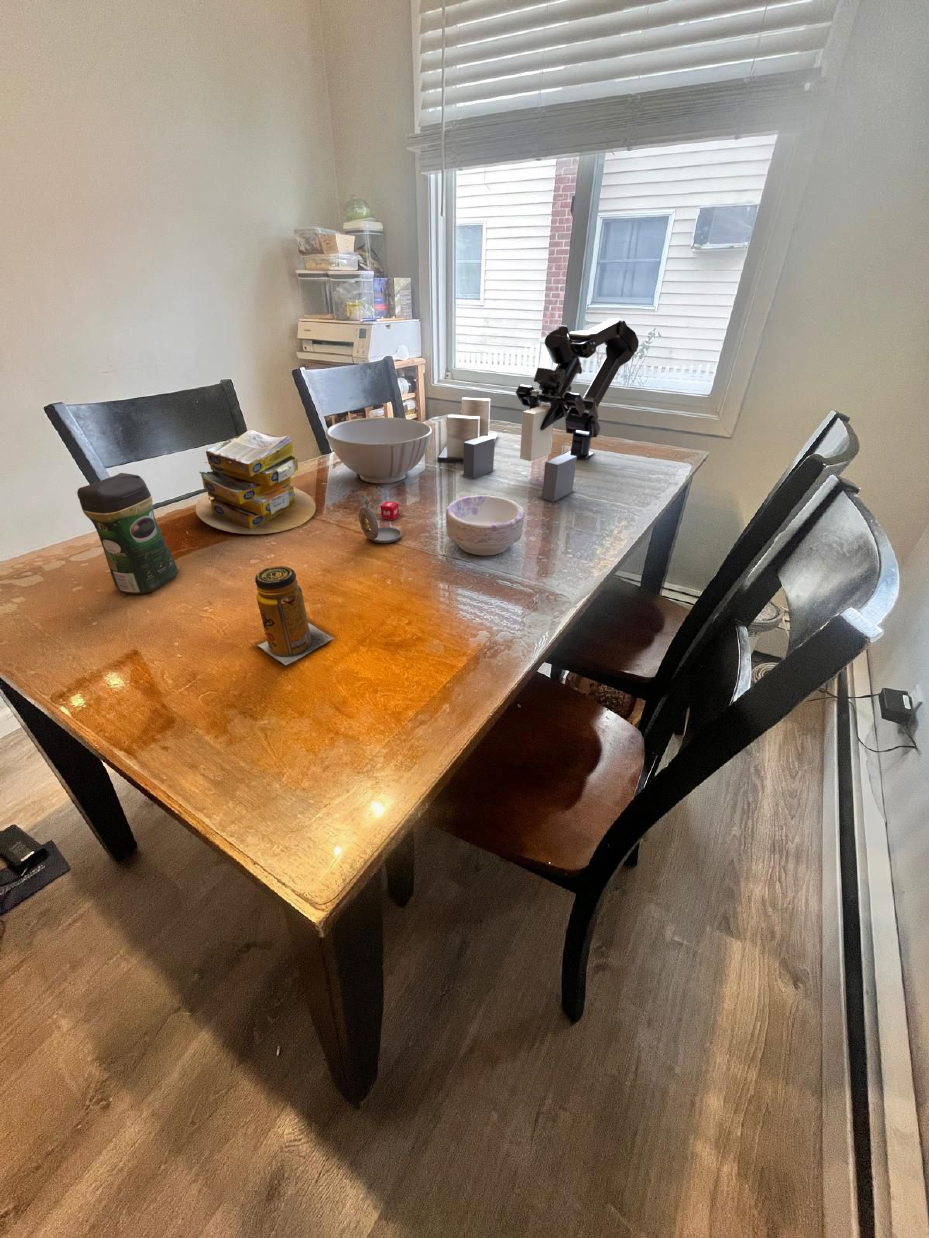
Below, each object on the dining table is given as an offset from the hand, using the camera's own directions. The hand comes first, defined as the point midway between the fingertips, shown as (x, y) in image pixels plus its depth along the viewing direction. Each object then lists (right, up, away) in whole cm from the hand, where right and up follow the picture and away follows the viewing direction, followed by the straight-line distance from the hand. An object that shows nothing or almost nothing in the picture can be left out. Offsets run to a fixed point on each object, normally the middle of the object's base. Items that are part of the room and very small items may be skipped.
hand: (534, 428), depth 134 cm
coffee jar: (-74, -43, -43) cm, 96 cm away
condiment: (-43, -53, -57) cm, 90 cm away
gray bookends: (-5, -14, +1) cm, 15 cm away
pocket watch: (-36, -33, -28) cm, 56 cm away
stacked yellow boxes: (-65, -26, -17) cm, 72 cm away
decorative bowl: (-40, -11, +5) cm, 42 cm away
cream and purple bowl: (-14, -35, -29) cm, 48 cm away
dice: (-35, -27, -18) cm, 48 cm away
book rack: (-17, +4, +28) cm, 33 cm away
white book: (+1, -6, +5) cm, 8 cm away
